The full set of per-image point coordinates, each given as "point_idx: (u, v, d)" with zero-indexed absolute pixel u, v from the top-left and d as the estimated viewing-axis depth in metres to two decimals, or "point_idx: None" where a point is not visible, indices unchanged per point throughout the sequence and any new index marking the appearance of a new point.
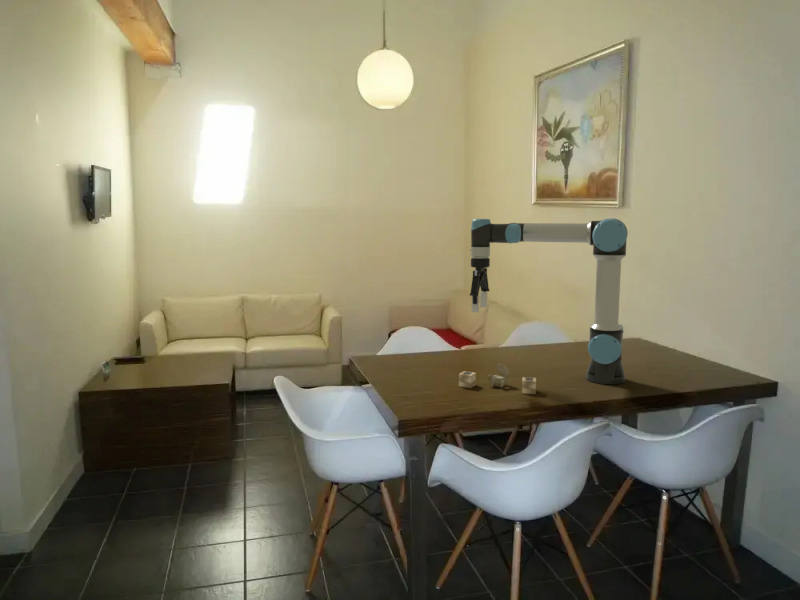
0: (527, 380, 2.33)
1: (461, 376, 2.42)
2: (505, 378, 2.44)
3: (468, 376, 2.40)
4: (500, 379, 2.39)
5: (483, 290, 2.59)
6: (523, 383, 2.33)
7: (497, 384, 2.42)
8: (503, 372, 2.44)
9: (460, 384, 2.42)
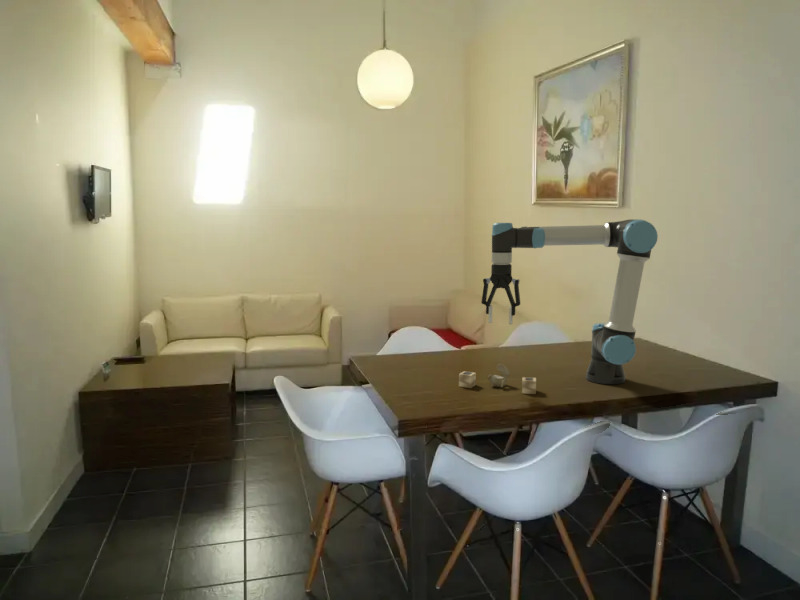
0: (527, 380, 2.33)
1: (461, 376, 2.42)
2: (505, 378, 2.44)
3: (468, 376, 2.40)
4: (500, 379, 2.39)
5: None
6: (523, 383, 2.33)
7: (497, 384, 2.42)
8: (503, 372, 2.44)
9: (460, 384, 2.42)
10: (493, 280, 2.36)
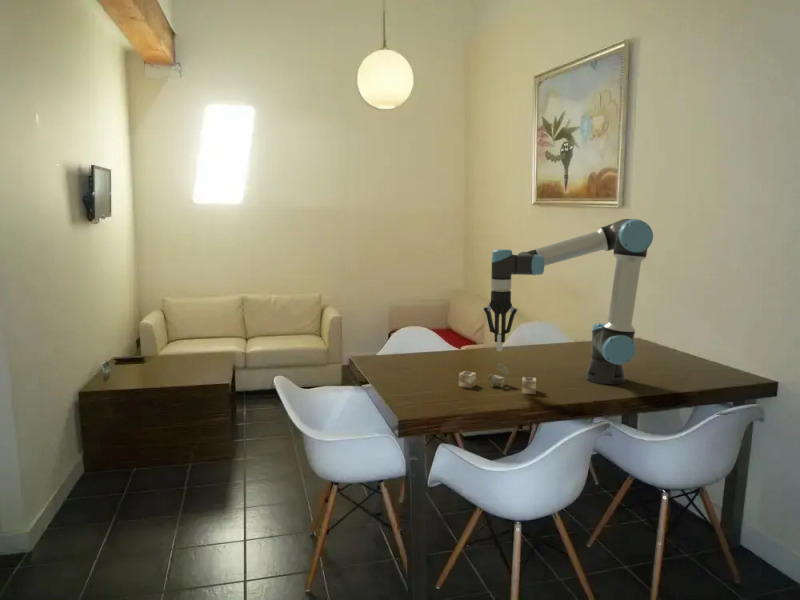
0: (527, 380, 2.33)
1: (461, 376, 2.42)
2: (505, 378, 2.43)
3: (468, 376, 2.40)
4: (500, 379, 2.39)
5: None
6: (523, 383, 2.33)
7: (497, 384, 2.41)
8: (503, 372, 2.44)
9: (460, 384, 2.42)
10: (493, 306, 2.38)
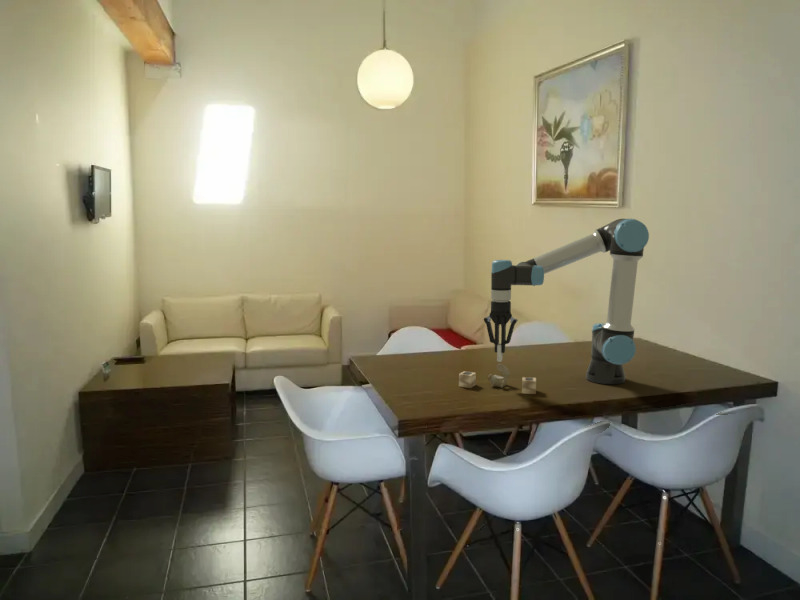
0: (527, 380, 2.33)
1: (461, 376, 2.42)
2: (505, 378, 2.43)
3: (468, 376, 2.40)
4: (500, 379, 2.39)
5: None
6: (523, 383, 2.33)
7: (497, 384, 2.41)
8: (503, 372, 2.44)
9: (460, 384, 2.42)
10: (493, 316, 2.38)
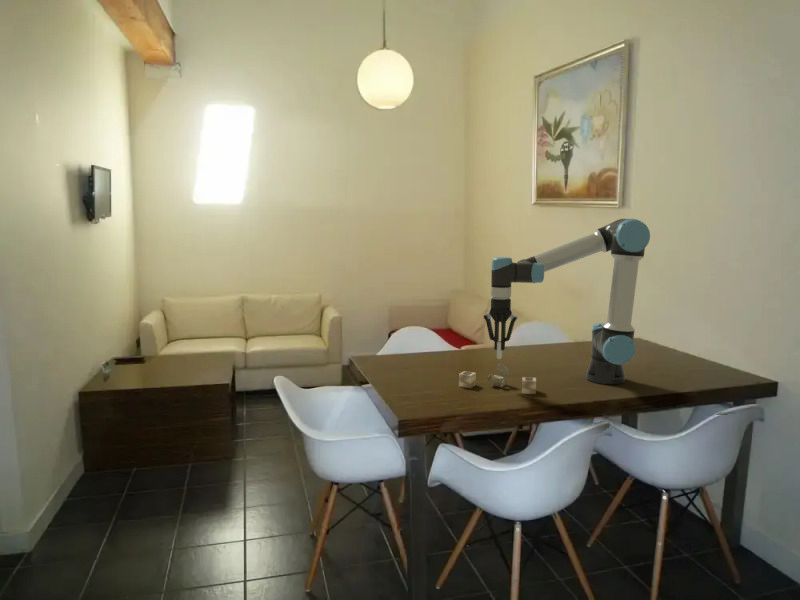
0: (527, 380, 2.33)
1: (461, 376, 2.42)
2: (505, 378, 2.43)
3: (468, 376, 2.40)
4: (500, 379, 2.39)
5: None
6: (523, 383, 2.33)
7: (497, 384, 2.41)
8: (503, 372, 2.44)
9: (460, 384, 2.42)
10: (493, 314, 2.38)
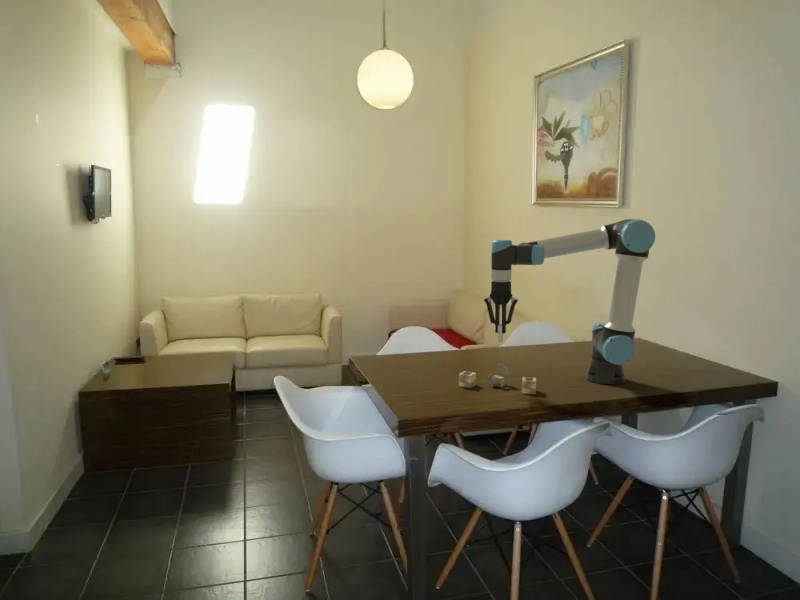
0: (527, 380, 2.33)
1: (461, 376, 2.42)
2: (505, 378, 2.43)
3: (468, 376, 2.40)
4: (500, 379, 2.39)
5: None
6: (523, 383, 2.33)
7: (497, 384, 2.41)
8: (503, 372, 2.44)
9: (460, 384, 2.42)
10: (493, 297, 2.37)
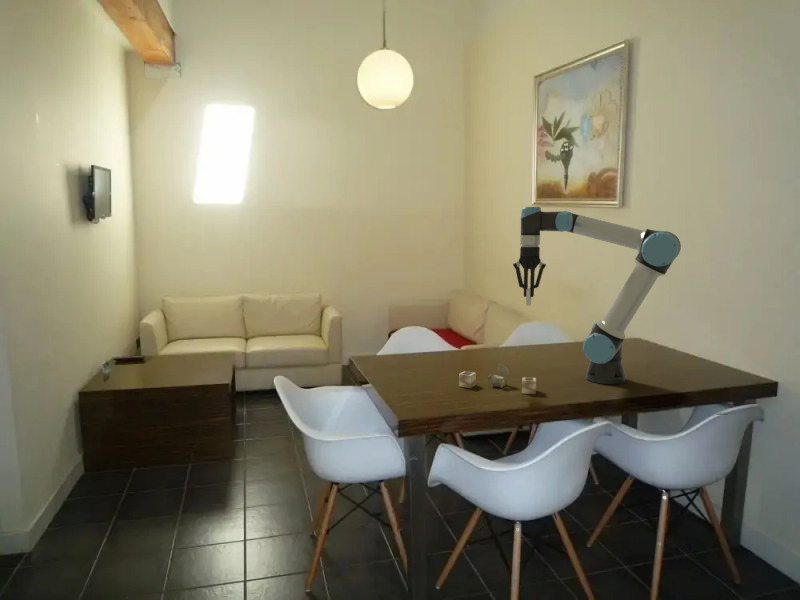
0: (527, 380, 2.33)
1: (461, 376, 2.42)
2: (505, 378, 2.43)
3: (468, 376, 2.40)
4: (500, 379, 2.39)
5: None
6: (523, 383, 2.33)
7: (497, 384, 2.41)
8: (503, 372, 2.44)
9: (460, 384, 2.42)
10: (522, 261, 2.46)
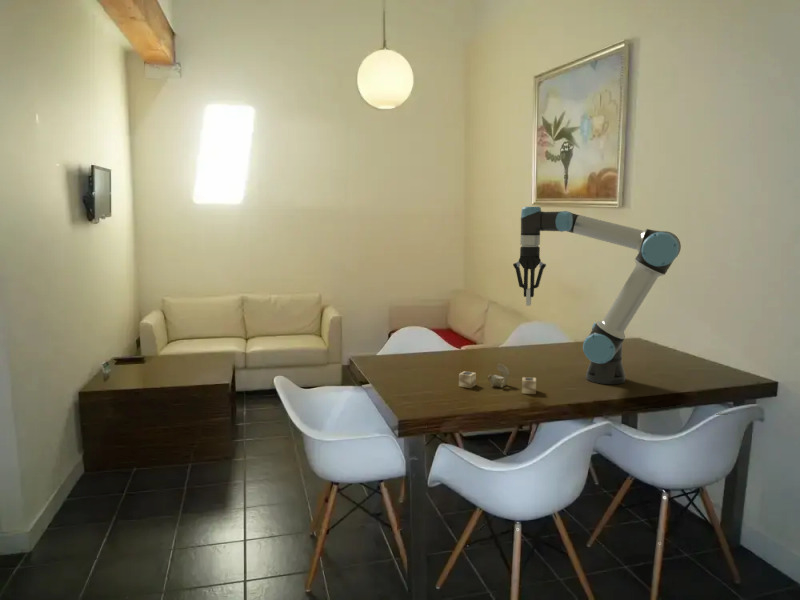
0: (527, 380, 2.33)
1: (461, 376, 2.42)
2: (505, 378, 2.43)
3: (468, 376, 2.40)
4: (500, 379, 2.39)
5: None
6: (523, 383, 2.33)
7: (497, 384, 2.41)
8: (503, 372, 2.44)
9: (460, 384, 2.42)
10: (522, 261, 2.46)
